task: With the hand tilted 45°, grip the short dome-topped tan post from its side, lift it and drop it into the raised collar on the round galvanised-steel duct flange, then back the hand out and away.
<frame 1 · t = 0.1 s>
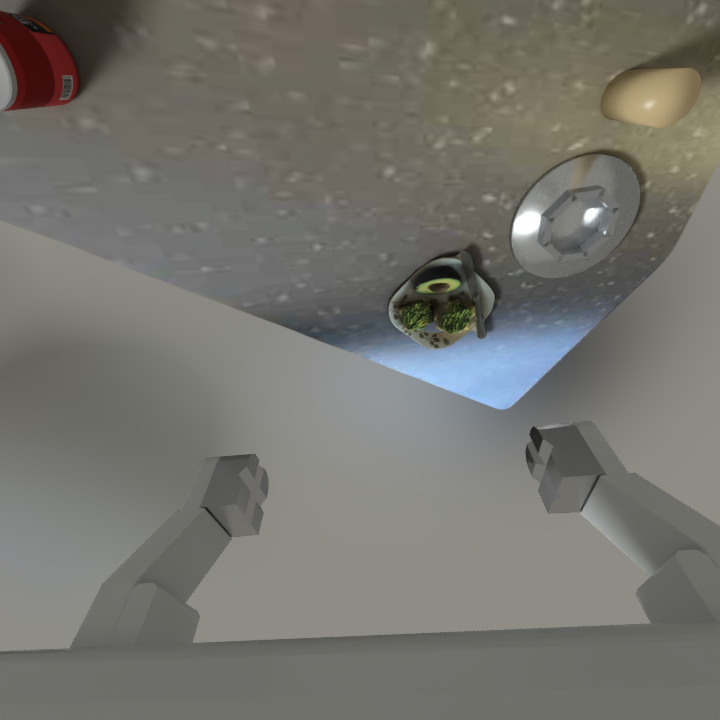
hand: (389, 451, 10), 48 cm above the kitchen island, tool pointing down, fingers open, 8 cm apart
salad plate: (438, 299, 62), on the kitchen island
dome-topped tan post: (622, 95, 43), on the kitchen island
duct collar: (570, 221, 53), on the kitchen island
canned food: (47, 63, 41), on the kitchen island
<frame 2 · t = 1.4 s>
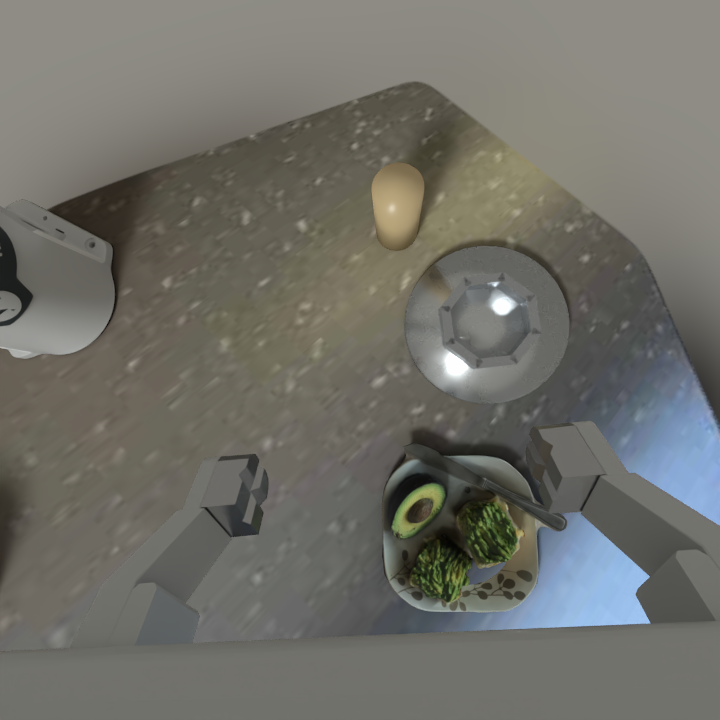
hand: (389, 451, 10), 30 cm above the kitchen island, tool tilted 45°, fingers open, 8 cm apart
salad plate: (451, 522, 39), on the kitchen island
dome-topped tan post: (396, 230, 42), on the kitchen island
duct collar: (483, 324, 40), on the kitchen island
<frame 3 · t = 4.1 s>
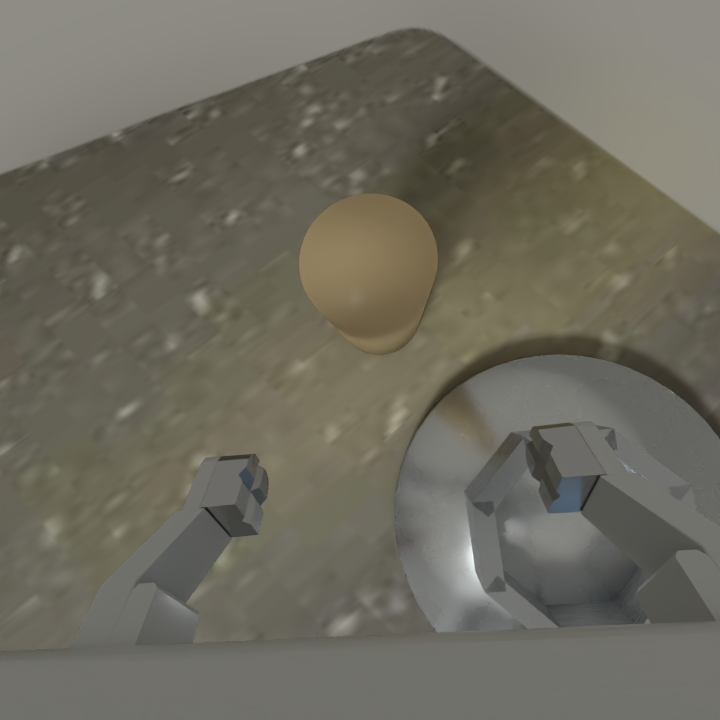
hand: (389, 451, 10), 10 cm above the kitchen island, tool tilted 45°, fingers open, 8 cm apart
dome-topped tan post: (379, 314, 21), on the kitchen island
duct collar: (556, 516, 19), on the kitchen island
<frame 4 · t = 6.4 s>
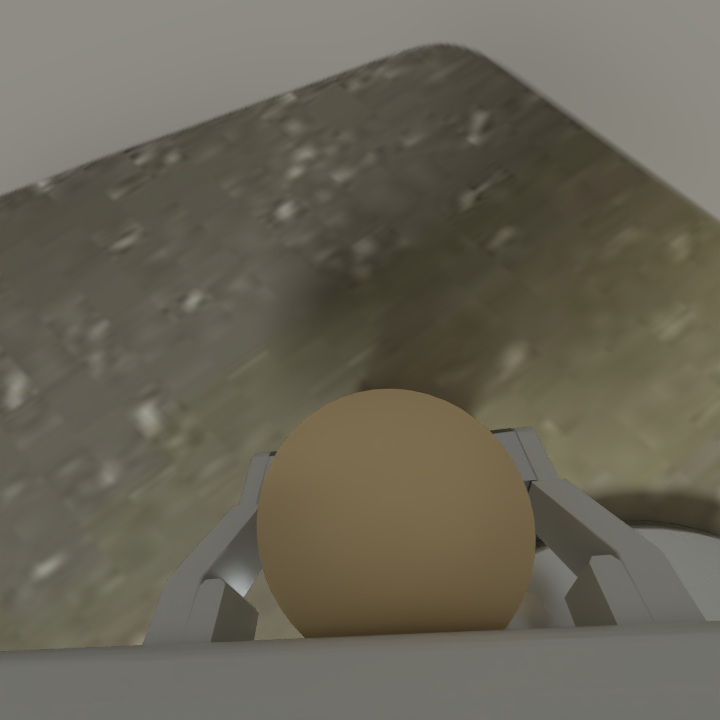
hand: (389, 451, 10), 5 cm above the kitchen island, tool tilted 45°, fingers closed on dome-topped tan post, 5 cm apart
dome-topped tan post: (394, 446, 15), on the kitchen island, touching gripper
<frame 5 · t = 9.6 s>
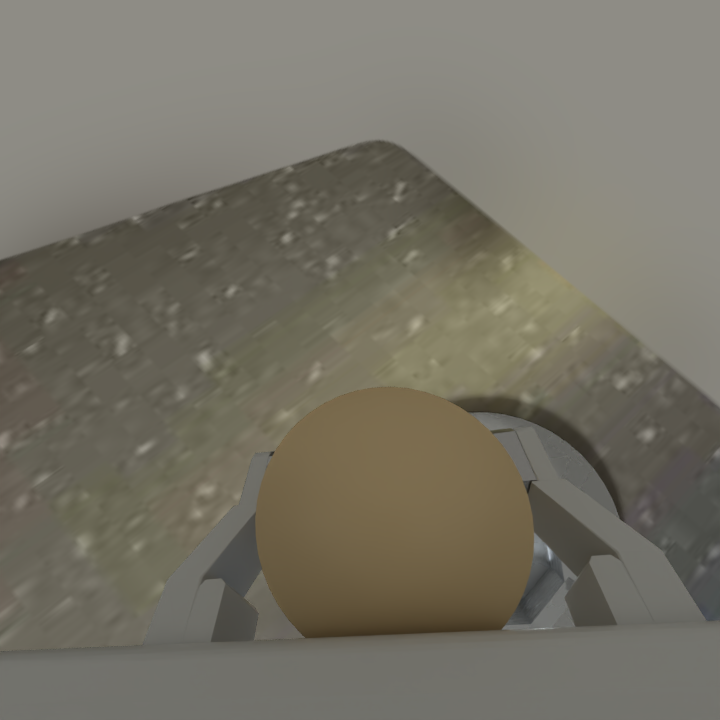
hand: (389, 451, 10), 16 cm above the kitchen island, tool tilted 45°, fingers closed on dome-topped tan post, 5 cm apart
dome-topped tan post: (393, 445, 15), point 11 cm above the kitchen island, touching gripper
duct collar: (482, 537, 25), on the kitchen island
when the fingers open (7 cm above the kitchen island, at t = 13.2 s): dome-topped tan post stays where it is, resting on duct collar.
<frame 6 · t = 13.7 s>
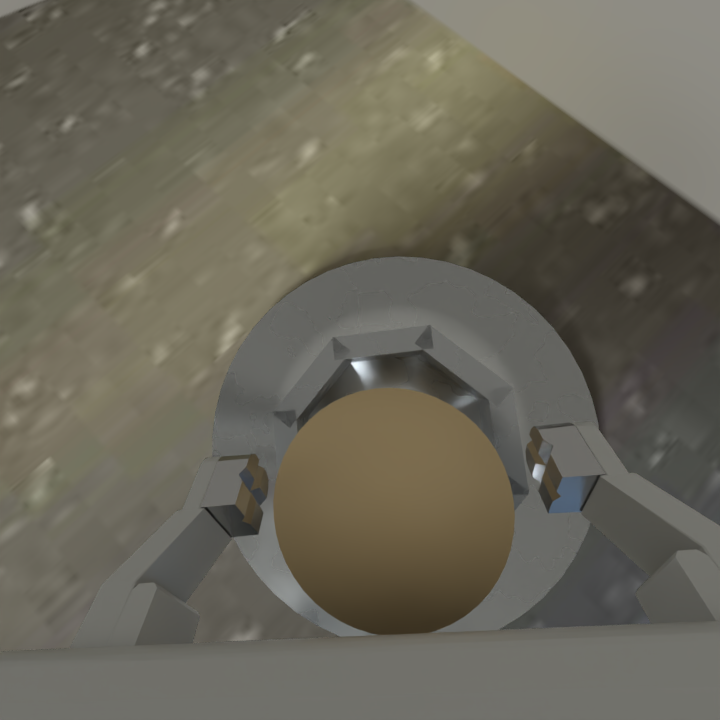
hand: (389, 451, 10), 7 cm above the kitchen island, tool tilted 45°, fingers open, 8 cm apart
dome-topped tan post: (393, 442, 16), point 1 cm above the kitchen island, touching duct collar
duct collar: (395, 440, 17), on the kitchen island
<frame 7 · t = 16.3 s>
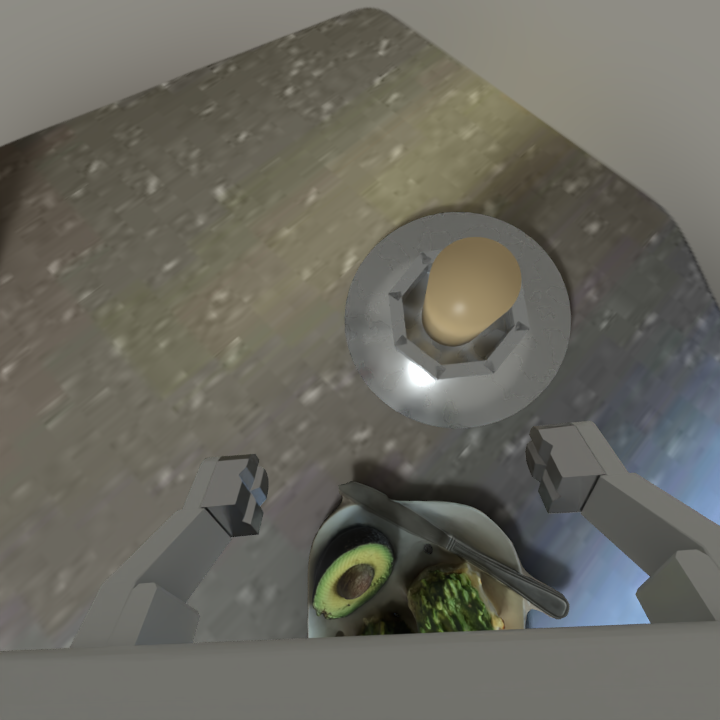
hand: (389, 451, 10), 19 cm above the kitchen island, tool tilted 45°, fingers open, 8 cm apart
salad plate: (406, 593, 28), on the kitchen island
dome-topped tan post: (452, 316, 28), point 1 cm above the kitchen island, touching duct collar
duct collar: (451, 319, 29), on the kitchen island
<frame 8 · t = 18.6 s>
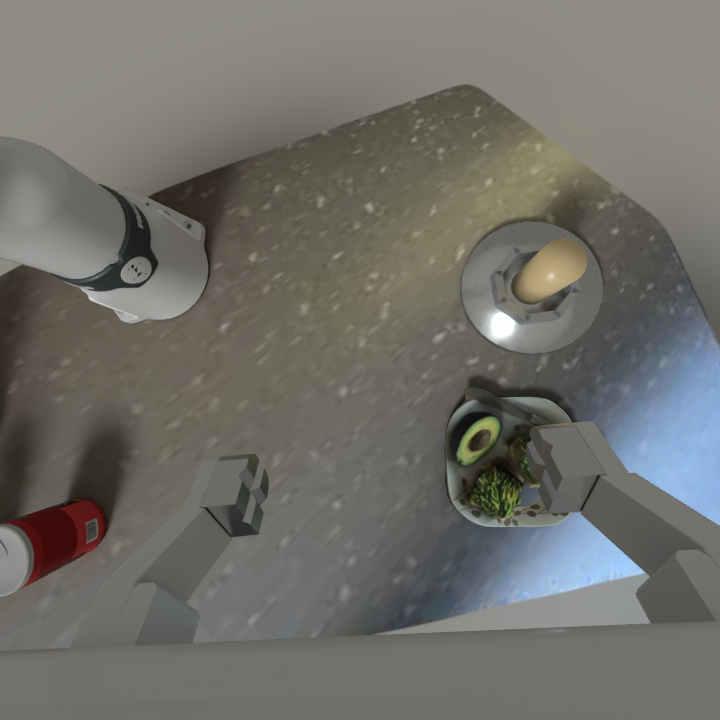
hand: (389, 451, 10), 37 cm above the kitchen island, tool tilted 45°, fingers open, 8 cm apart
salad plate: (503, 455, 46), on the kitchen island
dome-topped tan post: (530, 286, 46), point 1 cm above the kitchen island, touching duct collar
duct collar: (527, 288, 47), on the kitchen island
canned food: (85, 523, 51), on the kitchen island
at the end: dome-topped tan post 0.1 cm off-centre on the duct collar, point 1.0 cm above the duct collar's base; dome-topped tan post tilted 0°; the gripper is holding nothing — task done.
